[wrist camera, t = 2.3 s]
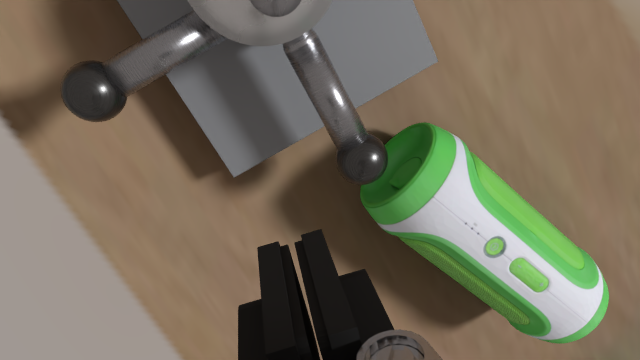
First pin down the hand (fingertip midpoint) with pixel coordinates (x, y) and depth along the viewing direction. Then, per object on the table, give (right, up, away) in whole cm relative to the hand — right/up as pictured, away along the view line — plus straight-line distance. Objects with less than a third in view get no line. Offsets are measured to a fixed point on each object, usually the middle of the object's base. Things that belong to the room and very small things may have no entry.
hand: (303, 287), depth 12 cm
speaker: (+11, 0, +23) cm, 25 cm away
